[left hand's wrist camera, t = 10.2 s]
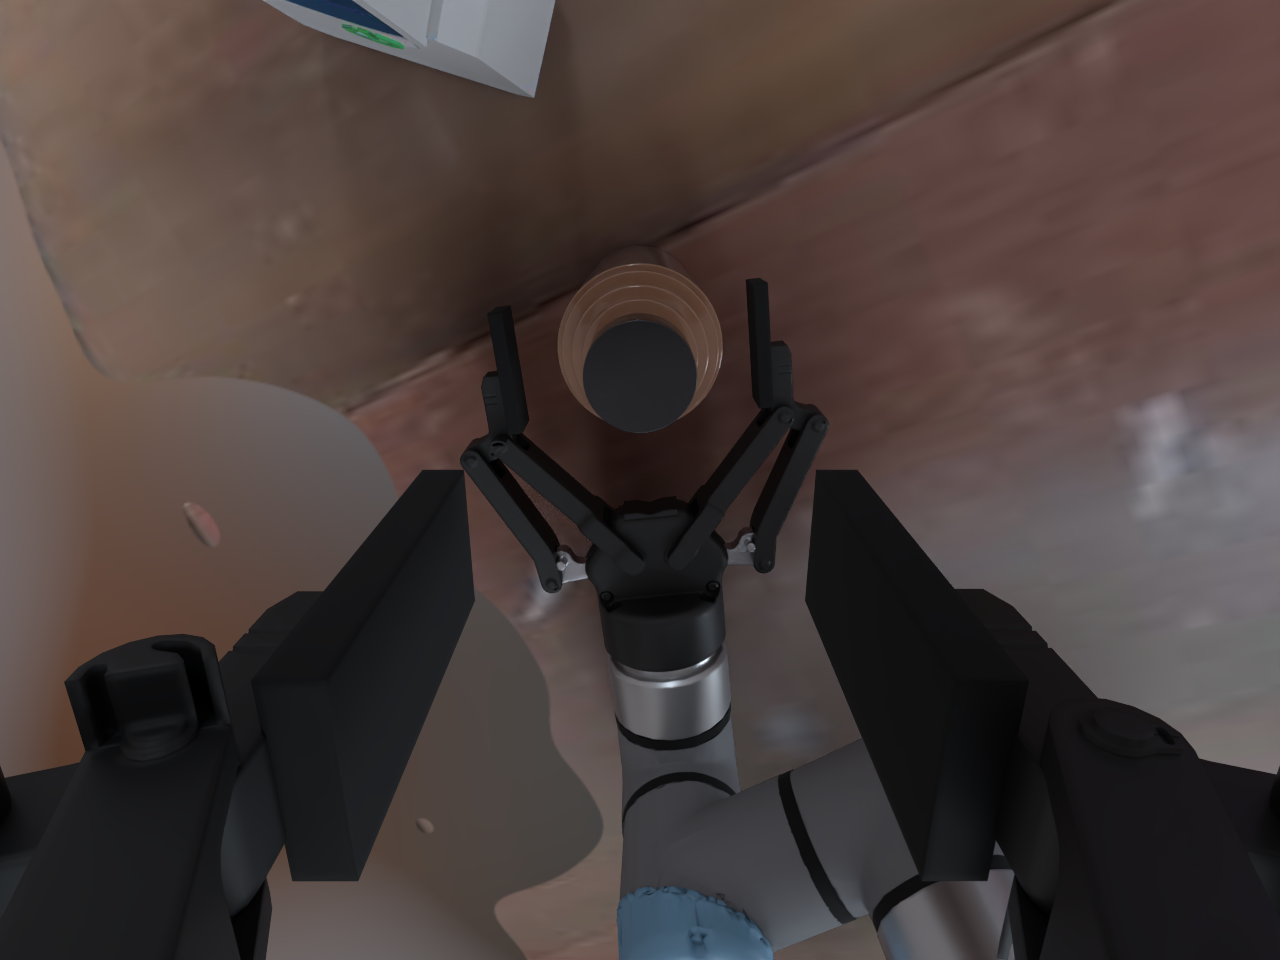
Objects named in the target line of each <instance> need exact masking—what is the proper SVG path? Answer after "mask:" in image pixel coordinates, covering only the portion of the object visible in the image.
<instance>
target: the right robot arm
mask: <svg viewBox="0 0 1280 960" xmlns="http://www.w3.org/2000/svg"><path fill="white" fill-rule="evenodd" d="M746 291H747V308H748V325H749V342H750V360H751V377H752V394H753V398H754V400H755V402H756V403H757V405H758V407H759V408H760V409H762V410H761V411H760V412H759V414H758V415H757V416H756V418H755V419H754V420H753V422H752V423H751V424H750V426H749V427H748V428H747V429H746V431H745V432H744V433H743V435H742V436H741V437H740V439H739V440H738V441H737V443H736V444H735V445H734V447H733V448H732V449H731V451H730V452H729V453H728V455H727V456H726V457H725V459H724V460H723V461H722V463H721V464H720V465H719V467H718V468H717V469H716V471H715V472H714V473H713V475H712V476H711V477H710V479H709V480H708V481H707V482H706V484H705V485H702V486H701V487H700V488H699V489H698V491H697V492H696V493H695V495H694V496H693V497H692V499H691V500H690V501H689V503H687V502H685V501H682V500H678V499H676V496H673V497H663V498H660V499H658V500H655V501H652V502H646V501H639V500H633V501H624V505H622V506H620V507H618V508H616V509H615V510H614V509H613V508H611V507H610V506H609V505H608V504H607V503H606V502H604V501H603V500H602V499H601V498H600V497H598V496H594V495H593V494H591V493H590V492H589V491H588V490H587V489H586V488H584V487H583V486H582V485H581V484H580V483H579V482H578V481H576V480H575V479H574V478H573V477H572V476H571V475H570V474H568V473H567V472H566V471H565V470H564V469H563V468H561V467H560V466H559V465H558V464H557V463H556V462H555V461H553V460H552V459H551V458H550V457H549V456H548V455H547V454H545V453H544V452H543V451H542V450H541V449H540V448H538V447H537V446H536V445H535V444H534V443H533V442H532V441H530V440H529V439H528V438H527V437H526V436H525V435H524V434H522V433H523V431H524V429H525V427H526V425H527V423H528V421H529V416H528V410H527V404H526V398H525V392H524V386H523V379H522V373H521V367H520V361H519V355H518V349H517V343H516V337H515V331H514V324H513V318H512V312H511V306H502V307H496V308H495V309H493V310H492V311H491V312H489V313H488V320H489V325H490V331H491V337H492V343H493V348H494V354H495V360H496V366H497V371H493V372H488V373H487V374H486V375H485V376H484V377H483V381H482V386H481V388H482V394H483V399H484V404H485V410H486V415H487V421H488V426H489V434H487V435H485V436H483V437H481V438H477V439H474V440H473V441H472V442H471V443H470V444H469V446H468V447H467V448H466V450H465V451H464V453H463V454H462V456H461V458H460V463H461V465H462V467H463V468H464V470H465V471H466V472H467V474H468V475H469V476H470V478H471V479H472V480H473V482H474V483H475V484H476V485H477V487H478V488H479V489H480V491H481V492H482V493H483V495H484V496H485V497H486V499H487V500H488V501H489V502H490V504H491V505H492V506H493V508H494V509H495V510H496V512H497V513H498V514H499V516H500V517H501V518H502V520H503V521H504V522H505V523H506V525H507V526H508V527H509V529H510V530H511V531H512V533H513V534H514V535H515V537H516V538H517V539H518V540H519V542H520V543H521V544H522V546H523V547H524V548H525V550H526V551H527V552H528V554H529V555H530V556H531V557H532V559H533V560H534V562H535V565H536V569H537V572H538V575H539V578H540V582H541V585H542V587H543V589H544V590H545V591H546V592H548V593H556V592H558V591H559V590H560V589H561V587H562V583H567V582H571V581H576V580H581V579H586V578H588V579H589V580H590V581H591V582H592V583H593V585H594V586H595V588H596V591H597V594H598V601H599V608H600V615H601V622H602V629H603V636H604V643H605V647H606V650H607V652H608V655H607V665H608V672H609V678H610V685H611V691H612V698H613V704H614V709H615V717H616V722H617V726H618V735H619V745H620V754H621V763H622V775H623V793H622V833H623V854H622V871H621V887H620V901H619V907H618V909H617V923H618V945H619V960H774V957H773V953H774V952H776V951H778V950H780V949H783V948H786V947H788V946H791V945H793V944H796V943H798V942H800V941H803V940H805V939H808V938H810V937H813V936H815V935H818V934H820V933H823V932H825V931H828V930H830V929H833V928H835V927H838V926H840V925H843V924H845V923H848V922H850V921H853V920H855V919H857V918H859V917H861V916H864V915H868V914H869V915H870V917H871V919H872V922H873V924H874V926H875V929H876V931H877V936H878V939H879V942H880V944H881V947H882V949H883V952H884V955H885V957H886V960H1002V959H998V958H997V953H998V947H999V940H1000V936H1001V931H1002V927H1003V922H1004V918H1005V914H1006V909H1007V905H1008V900H1009V896H1010V891H1011V887H1012V882H1013V878H1014V872H1013V870H1012V868H1011V867H1010V865H1009V863H1008V861H1007V859H1006V858H1005V856H1004V854H1003V852H1002V850H1001V849H1000V847H999V845H998V843H997V842H996V843H995V848H994V853H993V857H992V862H991V867H990V872H989V877H988V881H922V880H921V878H920V875H919V873H918V871H917V868H916V866H915V863H914V861H913V859H912V856H911V854H910V851H909V849H908V847H907V844H906V842H905V839H904V837H903V835H902V832H901V830H900V827H899V825H898V823H897V820H896V818H895V815H894V813H893V811H892V808H891V806H890V803H889V801H888V799H887V796H886V794H885V791H884V789H883V786H882V784H881V782H880V779H879V777H878V774H877V772H876V770H875V767H874V765H873V762H872V760H871V758H870V755H869V753H868V750H867V748H866V746H865V743H864V741H863V738H861V739H859V740H857V741H855V742H853V743H851V744H848V745H846V746H844V747H842V748H840V749H838V750H836V751H833V752H831V753H829V754H827V755H825V756H823V757H821V758H819V759H816V760H814V761H812V762H810V763H808V764H806V765H804V766H802V767H799V768H797V769H795V770H793V769H792V771H788V772H786V773H784V774H782V775H778V776H776V777H774V778H771V779H769V780H767V781H764V782H762V783H760V784H758V785H755V786H753V787H751V788H748V789H746V790H744V791H740V785H739V779H738V773H737V765H736V757H735V747H734V738H733V729H732V720H731V702H730V701H731V692H730V680H729V668H728V656H727V646H726V643H725V641H724V638H725V620H724V607H723V594H722V574H723V572H724V569H725V568H726V566H727V565H754V568H755V569H756V571H758V572H760V573H768V572H770V571H771V570H772V569H773V568H774V564H775V552H776V539H777V536H778V534H779V532H780V529H781V527H782V525H783V523H784V521H785V519H786V517H787V515H788V513H789V511H790V508H791V506H792V504H793V502H794V500H795V498H796V496H797V494H798V492H799V489H800V487H801V485H802V483H803V481H804V479H805V477H806V475H807V473H808V470H809V468H810V466H811V464H812V462H813V460H814V458H815V456H816V454H817V452H818V449H819V447H820V445H821V443H822V441H823V439H824V437H825V435H826V433H827V430H828V427H829V422H828V420H827V419H826V417H825V416H824V415H823V414H822V413H821V412H820V410H819V409H818V408H817V407H816V406H814V405H812V404H807V405H805V404H801V403H798V402H795V401H794V400H793V386H792V360H791V352H790V350H789V348H788V346H787V345H786V344H785V343H784V342H783V341H774V342H771V341H770V320H769V299H768V283H767V282H765V281H764V280H762V279H761V278H756V279H747V280H746ZM789 428H791V429H790V431H789V434H788V436H787V438H786V440H785V442H784V445H783V447H782V449H781V451H780V453H779V456H778V458H777V460H776V462H775V464H774V466H773V469H772V471H771V473H770V475H769V477H768V480H767V482H766V484H765V486H764V488H763V491H762V493H761V495H760V497H759V499H758V501H757V504H756V506H755V508H754V511H753V513H752V517H751V521H750V527H744V528H743V529H741V530H740V531H739V533H738V535H737V538H736V539H735V540H734V541H733V542H731V543H727V544H725V542H724V540H723V539H722V538H721V537H720V536H719V535H718V533H717V532H716V531H715V528H716V527H717V526H718V524H719V523H720V522H721V520H722V519H723V517H724V514H725V511H726V510H727V508H728V507H729V506H730V504H731V503H732V502H733V500H734V499H735V498H736V497H737V495H738V494H739V493H740V491H741V490H742V489H743V488H744V486H745V485H746V484H747V482H748V481H749V480H750V478H751V477H752V476H753V475H754V473H755V472H756V471H757V469H758V468H759V467H760V466H761V464H762V463H763V462H764V460H765V459H766V458H767V457H768V455H769V454H770V453H771V451H772V450H773V449H774V447H775V446H776V445H777V444H778V442H779V441H780V440H781V438H782V437H783V436H784V435H785V433H786V432H787V431H788V429H789ZM503 462H504V463H505V464H506V465H507V466H508V467H509V468H511V469H512V470H513V471H514V472H515V473H516V474H518V475H519V476H520V477H521V478H522V479H523V480H525V481H526V482H527V483H528V484H529V485H531V486H532V487H533V488H534V489H535V490H536V491H538V492H539V493H540V494H541V495H542V496H543V497H545V498H546V499H547V500H548V501H549V502H550V503H552V504H553V505H554V506H555V507H556V508H558V509H559V510H560V511H561V512H562V513H563V514H565V515H566V516H567V517H568V518H569V519H570V520H572V521H573V522H574V523H575V524H576V525H577V526H578V528H579V530H580V531H581V533H582V534H583V535H584V536H586V537H587V538H588V539H589V540H590V541H591V542H593V545H592V546H591V548H590V550H589V551H588V553H587V556H586V557H579V556H577V555H575V554H574V552H573V551H572V549H571V548H570V547H568V546H567V545H560V544H559V541H558V539H557V537H556V535H555V533H554V531H553V530H552V528H551V527H550V526H549V524H548V523H547V522H546V520H545V519H544V518H543V516H542V515H541V513H540V512H539V511H538V509H537V508H536V507H535V505H534V504H533V503H532V501H531V500H530V499H529V497H528V496H527V495H526V493H525V492H524V491H523V489H522V488H521V487H520V485H519V484H518V482H517V481H516V480H515V478H514V477H513V476H512V474H511V473H510V472H509V470H508V469H507V468H506V466H505V465H504V464H503ZM1008 960H1015V958H1014V950H1013V944H1011V949H1010V953H1009V957H1008Z"/></svg>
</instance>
